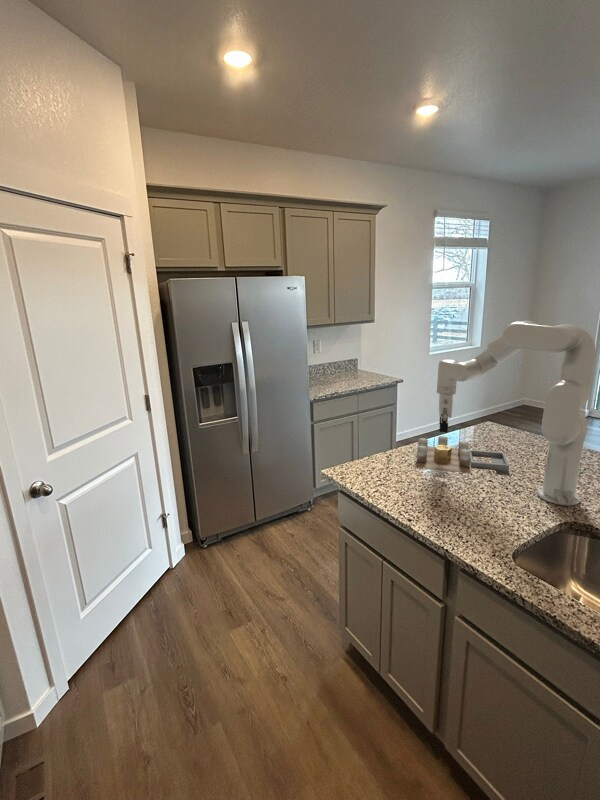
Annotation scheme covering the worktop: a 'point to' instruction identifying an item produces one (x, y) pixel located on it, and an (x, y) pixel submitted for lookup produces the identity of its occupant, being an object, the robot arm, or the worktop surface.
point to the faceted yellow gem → (442, 452)
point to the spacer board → (456, 463)
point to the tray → (497, 458)
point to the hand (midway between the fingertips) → (443, 428)
